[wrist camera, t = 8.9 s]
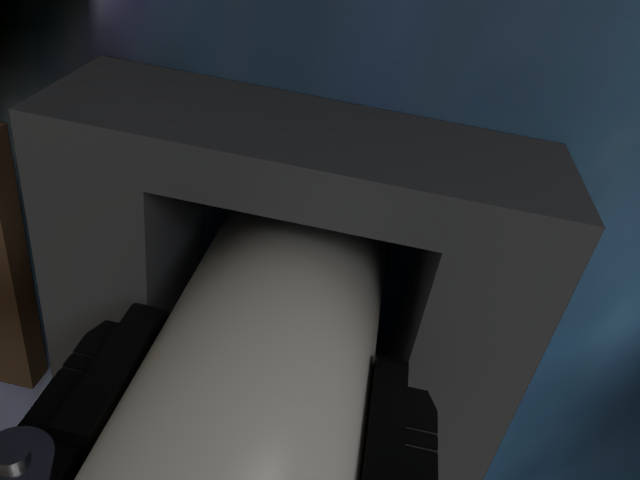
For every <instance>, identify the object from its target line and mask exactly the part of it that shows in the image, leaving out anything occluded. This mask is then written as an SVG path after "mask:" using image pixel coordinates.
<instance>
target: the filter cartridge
mask: <svg viewBox="0 0 640 480" xmlns="http://www.w3.org/2000/svg"><path fill="white" fill-rule="evenodd" d="M386 255H387V242H385V241H381V240H376V239H371V238H366V237H361V236H356V235H351V234H346V233H341V232H337V231H332V230H327V229H322V228H317V227H312V226H307V225H302V224H297V223H293V222H288V221H283V220H278V219H273V218H268V217H263V216H258V215H253V214H249V213H244V212H239V211H234V210H230V212H229V213H228V215H227V217H226V219H225V220H224V222H223V224H222V226H221V227H220V229H219V231H218V232H217V234H216V236H215V238H214V239H213V241H212V243H211V245H210V246H209V248H208V250H207V251H206V253H205V255H204V257H203V258H202V260H201V262H200V263H199V265H198V267H197V269H196V270H195V272H194V274H193V276H192V277H191V279H190V281H189V282H188V284H187V286H186V288H185V289H184V291H183V293H182V295H181V296H180V298H179V300H178V301H177V303H176V305H175V307H174V308H173V310H172V312H171V314H170V315H169V317H168V319H167V320H166V322H165V324H164V326H163V327H162V329H161V331H160V332H159V334H158V336H157V338H156V339H155V341H154V343H153V345H152V346H151V348H150V350H149V351H148V353H147V355H146V357H145V358H144V360H143V362H142V364H141V365H140V367H139V369H138V370H137V372H136V374H135V376H134V377H133V379H132V381H131V383H130V384H129V386H128V388H127V389H126V391H125V393H124V395H123V396H122V398H121V400H120V401H119V403H118V405H117V407H116V408H115V410H114V412H113V414H112V415H111V417H110V419H109V420H108V422H107V424H106V426H105V427H104V429H103V431H102V433H101V434H100V436H99V438H98V439H97V441H96V443H95V445H94V446H93V448H92V450H91V452H90V453H89V455H88V457H87V458H86V460H85V462H84V464H83V465H82V467H81V469H80V470H79V472H78V474H77V476H76V477H75V479H74V480H360V474H361V465H362V456H363V448H364V439H365V431H366V422H367V414H368V405H369V396H370V388H371V379H372V371H373V364H374V360H375V351H376V342H377V334H378V325H379V316H380V308H381V299H382V290H383V281H384V273H385V264H386Z"/></svg>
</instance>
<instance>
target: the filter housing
mask: <svg viewBox="0 0 640 480" xmlns="http://www.w3.org/2000/svg"><path fill="white" fill-rule="evenodd" d="M9 116H10V122H11V128H12V134H13V140H14V146H15V152H16V158H17V164H18V170H19V176H20V182H21V188H22V195H23V201H24V207H25V213H26V219H27V225H28V231H29V237H30V243H31V249H32V255H33V261H34V267H35V273H36V280H37V286H38V292H39V298H40V304H41V310H42V316H43V322H44V328H45V334H46V340H47V346H48V352H49V358H50V365H51V371H52V377H54V376H55V375H56V373H57V372H58V371H59V369H62V366H63V364H64V362H65V361H66V360H67V358H68V357H69V356H70V354H72V353H73V350H74V349H75V347H76V346H77V345H78V343H79V342H80V341H81V339H82V338H83V337H84V335H85V334H86V333H87V332H89V331H90V330H92V329H93V328H95V327H96V326H98V325H99V324H101V323H102V322H104V321H105V320H109V321H113V322H118V323H119V322H120V321H121V319H122V318H123V316H124V315H125V313H126V312H127V311H128V309H129V308H130V306H131V305H132V304H133V303H140V304H145V305H149V306H154V307H159V308H163V309H167V310H168V313H169V315H170V314H171V312H172V310H173V308H174V307H175V305H176V303H177V301H178V300H179V298H180V296H181V295H182V293H183V291H184V289H185V288H186V286H187V284H188V282H189V281H190V279H191V277H192V276H193V274H194V272H195V270H196V269H197V267H198V265H199V263H200V243H201V210H202V204H204V205H209V206H214V207H219V208H224V209H229V210H234V211H239V212H244V213H249V214H253V215H258V216H263V217H268V218H273V219H278V220H283V221H288V222H293V223H297V224H302V225H307V226H312V227H317V228H322V229H327V230H332V231H337V232H341V233H346V234H351V235H356V236H361V237H366V238H371V239H376V240H381V241H385V242H390V243H395V244H400V245H405V246H410V247H415V248H418V250H417V254H416V257H415V261H414V264H413V268H412V271H411V275H410V279H409V282H408V286H407V289H406V293H405V296H404V300H403V304H402V307H401V311H400V314H399V318H398V321H397V325H396V328H395V332H394V336H393V339H392V343H391V346H390V345H385V344H380V343H376V351H375V357H376V355H378V356H383V357H388V358H392V359H397V360H402V361H406V362H408V363H409V375H408V386H409V387H413V388H418V389H422V390H427V391H428V392H429V394H430V396H431V398H432V400H433V402H434V405H435V407H436V409H437V411H438V434H437V437H438V453H437V454H438V480H483V479H484V476H485V474H486V472H487V470H488V468H489V466H490V464H491V462H492V460H493V458H494V456H495V454H496V452H497V450H498V448H499V446H500V443H501V441H502V439H503V437H504V435H505V433H506V431H507V429H508V427H509V425H510V423H511V421H512V419H513V417H514V415H515V412H516V410H517V408H518V406H519V404H520V402H521V400H522V398H523V396H524V394H525V392H526V390H527V388H528V386H529V384H530V382H531V379H532V377H533V375H534V373H535V371H536V369H537V367H538V365H539V363H540V361H541V359H542V357H543V355H544V353H545V351H546V348H547V346H548V344H549V342H550V340H551V338H552V336H553V334H554V332H555V330H556V328H557V326H558V324H559V322H560V320H561V318H562V315H563V313H564V311H565V309H566V307H567V305H568V303H569V301H570V299H571V297H572V295H573V293H574V291H575V289H576V287H577V285H578V282H579V280H580V278H581V276H582V274H583V272H584V270H585V268H586V266H587V264H588V262H589V260H590V258H591V256H592V254H593V251H594V249H595V247H596V245H597V243H598V241H599V239H600V237H601V235H602V233H603V231H604V229H605V226H604V224H603V222H602V220H601V218H600V216H599V214H598V212H597V210H596V207H595V205H594V203H593V201H592V199H591V197H590V195H589V193H588V191H587V189H586V186H585V184H584V182H583V180H582V178H581V176H580V174H579V172H578V170H577V167H576V165H575V163H574V161H573V159H572V157H571V155H570V153H569V151H568V148H567V146H566V144H561V143H556V142H551V141H546V140H541V139H535V138H530V137H525V136H520V135H514V134H509V133H504V132H499V131H494V130H488V129H483V128H478V127H473V126H467V125H462V124H457V123H452V122H447V121H441V120H436V119H431V118H426V117H420V116H415V115H410V114H405V113H399V112H394V111H389V110H384V109H379V108H373V107H368V106H363V105H358V104H352V103H347V102H342V101H337V100H332V99H326V98H321V97H316V96H311V95H305V94H300V93H295V92H290V91H285V90H279V89H274V88H269V87H264V86H258V85H253V84H248V83H243V82H238V81H232V80H227V79H222V78H217V77H211V76H206V75H201V74H196V73H190V72H185V71H180V70H175V69H170V68H164V67H159V66H154V65H149V64H143V63H138V62H133V61H128V60H123V59H117V58H112V57H107V56H102V55H101V56H99V57H97V58H96V59H94V60H92V61H90V62H89V63H87V64H85V65H83V66H82V67H80V68H78V69H77V70H75V71H73V72H71V73H70V74H68V75H66V76H65V77H63V78H61V79H59V80H58V81H56V82H54V83H52V84H51V85H49V86H47V87H46V88H44V89H42V90H40V91H39V92H37V93H35V94H34V95H32V96H30V97H28V98H27V99H25V100H23V101H21V102H20V103H18V104H16V105H15V106H13V107H11V108H9Z"/></svg>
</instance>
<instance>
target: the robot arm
mask: <svg viewBox="0 0 640 480" xmlns="http://www.w3.org/2000/svg"><path fill="white" fill-rule="evenodd" d="M168 317H169V313H168V310H167V309H163V308H159V307H154V306H149V305H145V304H140V303H133V304H132V305H131V306H130V308H129V309H128V311H127V312H126V313H125V315H124V316H123V318H122V319H121V321H120V322H119V323H118V322H113V321H109V320H105V321H104V322H102V323H101V324H99V325H98V326H96V327H95V328H93V329H92V330H90V331H89V332H87V333H86V334H85V335H84V337H83V338H82V339H81V341H80V342H79V343H78V345H77V346H76V347H75V349H74V350H73V353H72V354H70V356H69V357H68V358H67V360H66V361H65V362H64V364H63V366H62V369H59V371H58V372H57V373H56V375H55V376H54V377H53V379H52V380H51V381H50V383H49V384H48V386H47V387H46V388H45V390H44V391H43V392H42V394H41V395H40V396H39V398H38V399H37V400H36V402H35V403H34V405H33V406H32V407H31V409H30V410H29V411H28V413H27V414H26V415H25V417H24V418H23V420H22V421H21V422H20V423H19V424H18V426H17V427H12V428H8V429H5V430H2V431H0V480H74V479H75V477H76V476H77V474H78V472H79V470H80V469H81V467H82V465H83V464H84V462H85V460H86V458H87V457H88V455H89V453H90V452H91V450H92V448H93V446H94V445H95V443H96V441H97V439H98V438H99V436H100V434H101V433H102V431H103V429H104V427H105V426H106V424H107V422H108V420H109V419H110V417H111V415H112V414H113V412H114V410H115V408H116V407H117V405H118V403H119V401H120V400H121V398H122V396H123V395H124V393H125V391H126V389H127V388H128V386H129V384H130V383H131V381H132V379H133V377H134V376H135V374H136V372H137V370H138V369H139V367H140V365H141V364H142V362H143V360H144V358H145V357H146V355H147V353H148V351H149V350H150V348H151V346H152V345H153V343H154V341H155V339H156V338H157V336H158V334H159V332H160V331H161V329H162V327H163V326H164V324H165V322H166V320H167V319H168ZM408 375H409V363H408V362H406V361H402V360H397V359H392V358H388V357H383V356H378V355H376V357H375V360H374V364H373V371H372V379H371V388H370V396H369V405H368V414H367V422H366V431H365V439H364V448H363V456H362V465H361V474H360V480H438V454H437V453H438V437H437V434H438V411H437V409H436V407H435V405H434V402H433V400H432V398H431V396H430V394H429V392H428V391H427V390H422V389H418V388H413V387H409V386H408Z"/></svg>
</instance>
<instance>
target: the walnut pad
mask: <svg viewBox="0 0 640 480" xmlns="http://www.w3.org/2000/svg"><path fill="white" fill-rule="evenodd" d="M47 370H48V367H47V361H46V355H45V349H44V343H43V337H42V331H41V325H40V319H39V313H38V308H37V302H36V296H35V290H34V284H33V278H32V272H31V266H30V260H29V254H28V248H27V243H26V237H25V231H24V225H23V219H22V213H21V207H20V201H19V195H18V189H17V183H16V178H15V172H14V166H13V160H12V154H11V148H10V142H9V136H8V130H7V124H6V123H2V122H0V381H1V382H5V383H10V384H14V385H18V386H23V387H27V388H32V389H33V388H34V387H35V386H36V384H37V383H38V382H39V380H40V379H41V378H42V376H43V375H44V374H45V372H46V371H47Z"/></svg>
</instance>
